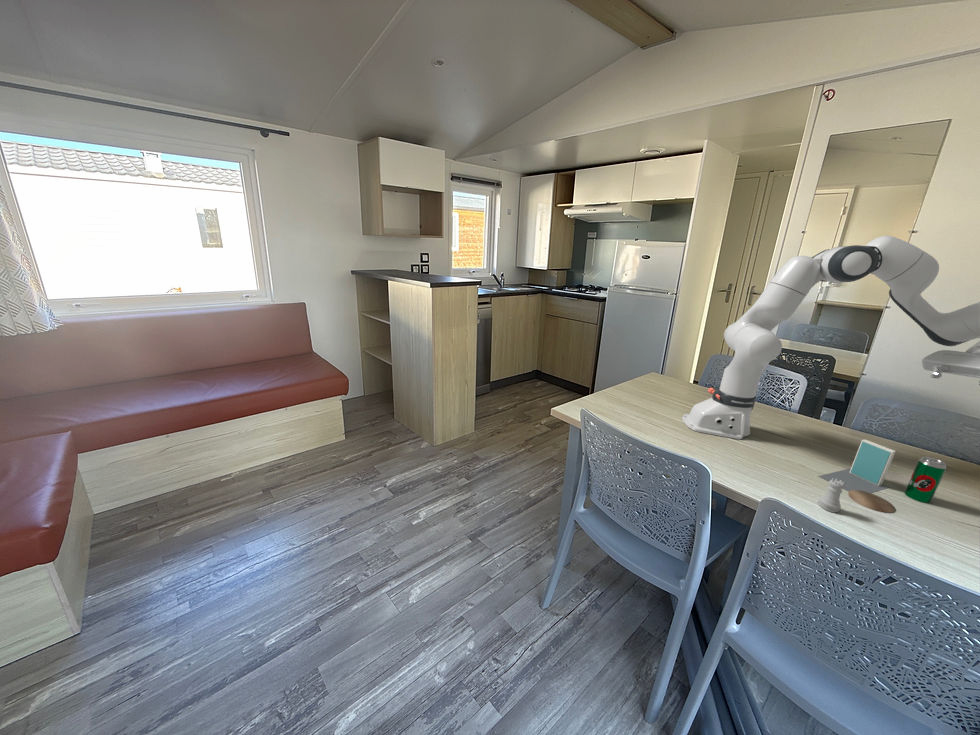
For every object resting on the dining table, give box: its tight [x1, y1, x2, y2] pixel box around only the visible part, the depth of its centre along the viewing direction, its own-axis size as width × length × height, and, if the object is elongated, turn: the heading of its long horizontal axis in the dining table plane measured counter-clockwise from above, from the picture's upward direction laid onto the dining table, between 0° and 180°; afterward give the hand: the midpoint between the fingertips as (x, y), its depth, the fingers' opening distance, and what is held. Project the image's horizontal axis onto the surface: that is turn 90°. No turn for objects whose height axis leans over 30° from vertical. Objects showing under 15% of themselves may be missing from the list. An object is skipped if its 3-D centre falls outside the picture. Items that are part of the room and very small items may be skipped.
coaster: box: [847, 490, 896, 514], centre depth 101 cm, size 9×9×1 cm
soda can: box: [903, 456, 947, 504], centre depth 103 cm, size 5×5×12 cm
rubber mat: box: [817, 468, 891, 494], centre depth 110 cm, size 15×10×1 cm, turn 110°
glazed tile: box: [849, 439, 897, 486], centre depth 110 cm, size 2×7×11 cm, turn 20°
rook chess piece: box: [817, 478, 845, 513], centre depth 98 cm, size 4×4×8 cm
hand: (957, 379), depth 105 cm, fingers open, 8 cm apart
